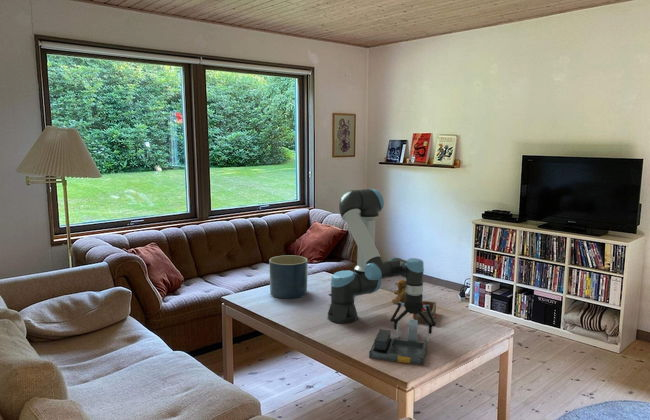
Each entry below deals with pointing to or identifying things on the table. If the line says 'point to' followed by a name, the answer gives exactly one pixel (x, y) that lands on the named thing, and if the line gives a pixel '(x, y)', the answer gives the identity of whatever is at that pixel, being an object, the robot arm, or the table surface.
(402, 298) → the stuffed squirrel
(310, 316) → the table surface
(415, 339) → the pale blue upright block
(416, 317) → the open wooden box
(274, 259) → the planter
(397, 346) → the grey flat rectangular tray
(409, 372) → the table surface
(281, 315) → the table surface
